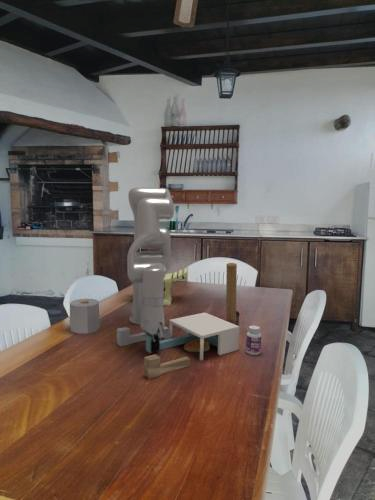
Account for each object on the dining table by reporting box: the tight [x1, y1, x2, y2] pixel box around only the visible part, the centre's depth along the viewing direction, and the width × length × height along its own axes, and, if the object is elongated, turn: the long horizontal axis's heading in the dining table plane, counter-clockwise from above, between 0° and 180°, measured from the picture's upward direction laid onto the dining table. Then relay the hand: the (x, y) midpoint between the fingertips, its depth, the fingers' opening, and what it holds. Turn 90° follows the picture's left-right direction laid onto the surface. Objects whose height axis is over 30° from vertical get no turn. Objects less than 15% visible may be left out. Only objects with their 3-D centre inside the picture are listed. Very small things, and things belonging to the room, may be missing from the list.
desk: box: [168, 312, 240, 361], centre depth 144 cm, size 20×18×9 cm
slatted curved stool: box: [163, 267, 189, 306], centre depth 205 cm, size 30×16×18 cm, turn 89°
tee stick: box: [116, 325, 170, 347], centre depth 149 cm, size 8×20×6 cm, turn 126°
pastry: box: [183, 338, 211, 353], centre depth 141 cm, size 9×7×4 cm
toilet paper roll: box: [69, 298, 101, 335], centre depth 160 cm, size 12×12×12 cm
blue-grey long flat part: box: [145, 333, 218, 354], centre depth 142 cm, size 12×26×6 cm, turn 126°
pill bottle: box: [245, 325, 262, 356], centre depth 139 cm, size 5×5×10 cm
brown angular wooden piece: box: [143, 353, 191, 380], centre depth 123 cm, size 3×16×6 cm, turn 126°
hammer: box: [225, 262, 240, 326], centre depth 160 cm, size 20×5×30 cm, turn 164°
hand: (152, 348), depth 139 cm, fingers closed on blue-grey long flat part, 3 cm apart
